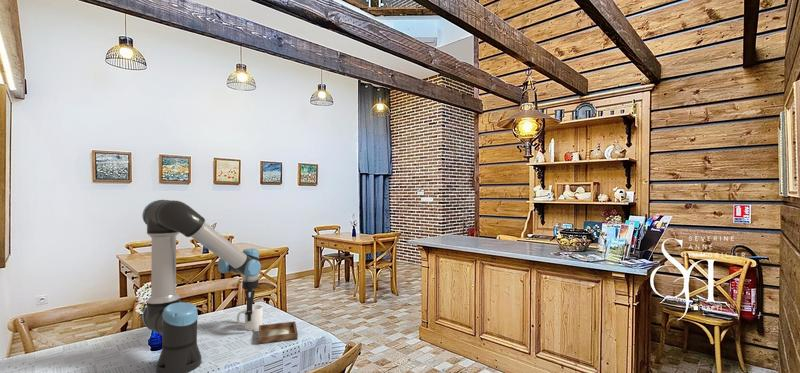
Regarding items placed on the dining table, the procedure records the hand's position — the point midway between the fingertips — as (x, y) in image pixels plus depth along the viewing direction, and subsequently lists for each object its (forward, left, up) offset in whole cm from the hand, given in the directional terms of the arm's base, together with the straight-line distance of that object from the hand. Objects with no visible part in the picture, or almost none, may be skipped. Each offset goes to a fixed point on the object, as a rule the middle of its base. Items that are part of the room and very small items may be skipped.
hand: (249, 322), depth 184 cm
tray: (+13, -14, -3) cm, 19 cm away
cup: (0, 0, -3) cm, 3 cm away
